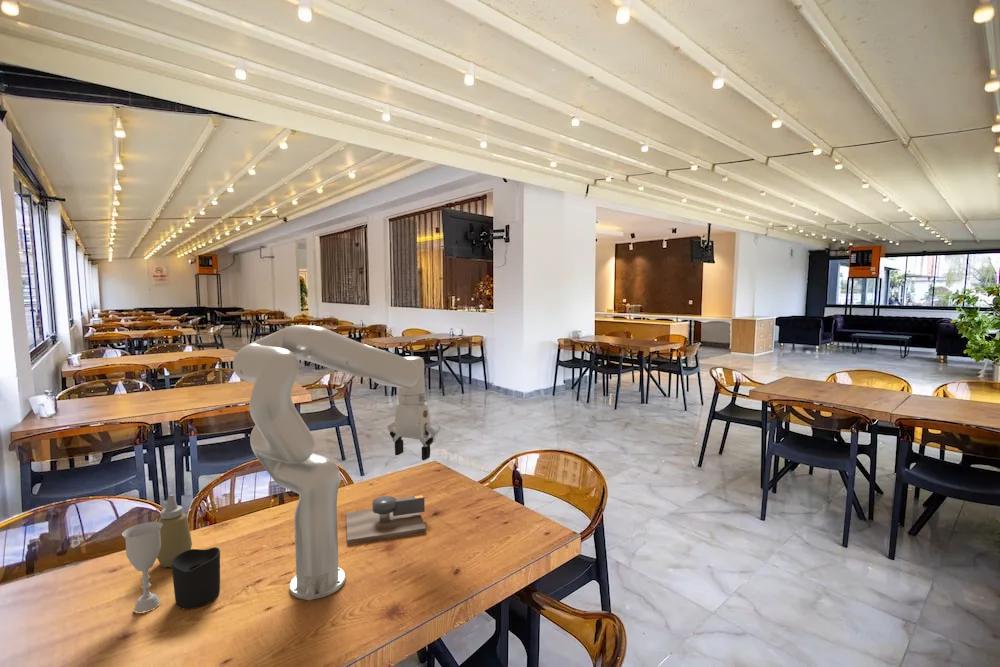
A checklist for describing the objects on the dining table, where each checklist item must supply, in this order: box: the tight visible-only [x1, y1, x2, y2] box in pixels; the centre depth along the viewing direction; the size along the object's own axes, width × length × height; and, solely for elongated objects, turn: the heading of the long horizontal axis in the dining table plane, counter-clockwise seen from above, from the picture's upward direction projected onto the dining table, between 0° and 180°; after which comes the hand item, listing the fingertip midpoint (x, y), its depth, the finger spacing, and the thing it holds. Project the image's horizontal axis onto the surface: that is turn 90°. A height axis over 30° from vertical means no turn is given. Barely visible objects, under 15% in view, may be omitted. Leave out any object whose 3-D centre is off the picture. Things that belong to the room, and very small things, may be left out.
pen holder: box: [171, 547, 221, 610], centre depth 111 cm, size 9×9×10 cm
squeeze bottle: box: [156, 494, 193, 569], centre depth 126 cm, size 8×8×18 cm
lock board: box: [346, 508, 427, 546], centre depth 147 cm, size 18×22×5 cm
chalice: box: [121, 521, 163, 612], centre depth 108 cm, size 7×7×18 cm
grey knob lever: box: [371, 494, 425, 516], centre depth 148 cm, size 7×16×5 cm, turn 108°
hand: (412, 456), depth 142 cm, fingers open, 9 cm apart
